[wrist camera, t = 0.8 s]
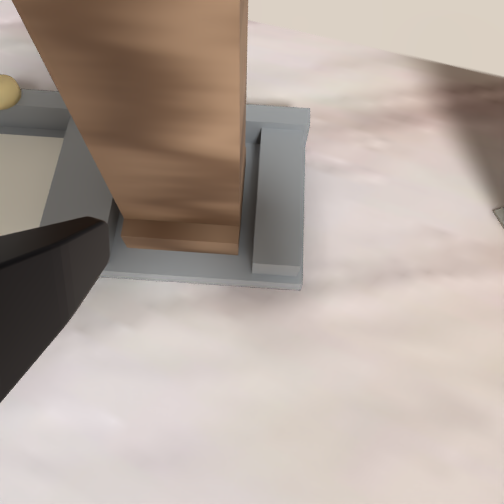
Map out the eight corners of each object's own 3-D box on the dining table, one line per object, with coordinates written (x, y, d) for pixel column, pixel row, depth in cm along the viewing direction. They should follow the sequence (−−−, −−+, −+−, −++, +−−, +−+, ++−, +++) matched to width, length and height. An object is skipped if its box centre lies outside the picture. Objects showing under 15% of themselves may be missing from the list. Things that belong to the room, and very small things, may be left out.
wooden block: (245, 162, 26) (252, -123, 13) (238, 255, 24) (236, 22, 11) (144, 155, 26) (48, -137, 13) (127, 247, 24) (-12, 5, 11)
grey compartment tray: (303, 135, 29) (311, 95, 25) (300, 290, 24) (309, 266, 21) (-71, 110, 29) (-112, 66, 25) (-137, 260, 24) (-196, 231, 21)
